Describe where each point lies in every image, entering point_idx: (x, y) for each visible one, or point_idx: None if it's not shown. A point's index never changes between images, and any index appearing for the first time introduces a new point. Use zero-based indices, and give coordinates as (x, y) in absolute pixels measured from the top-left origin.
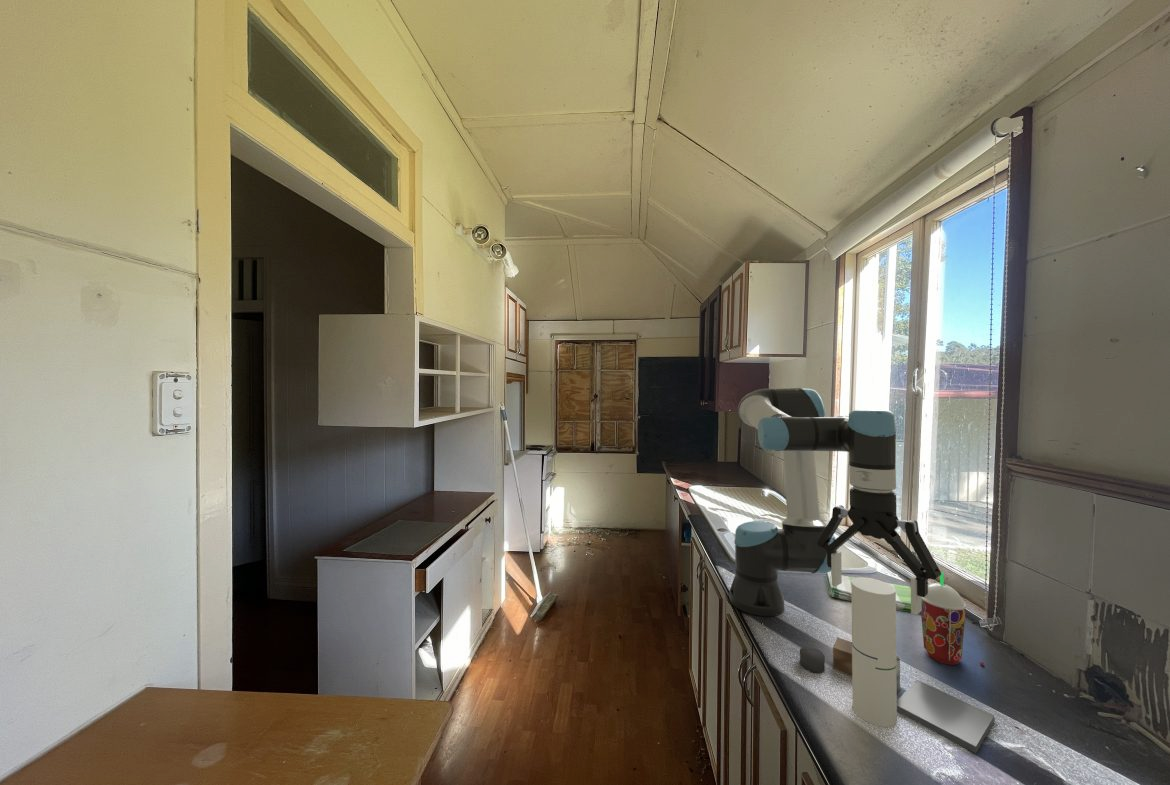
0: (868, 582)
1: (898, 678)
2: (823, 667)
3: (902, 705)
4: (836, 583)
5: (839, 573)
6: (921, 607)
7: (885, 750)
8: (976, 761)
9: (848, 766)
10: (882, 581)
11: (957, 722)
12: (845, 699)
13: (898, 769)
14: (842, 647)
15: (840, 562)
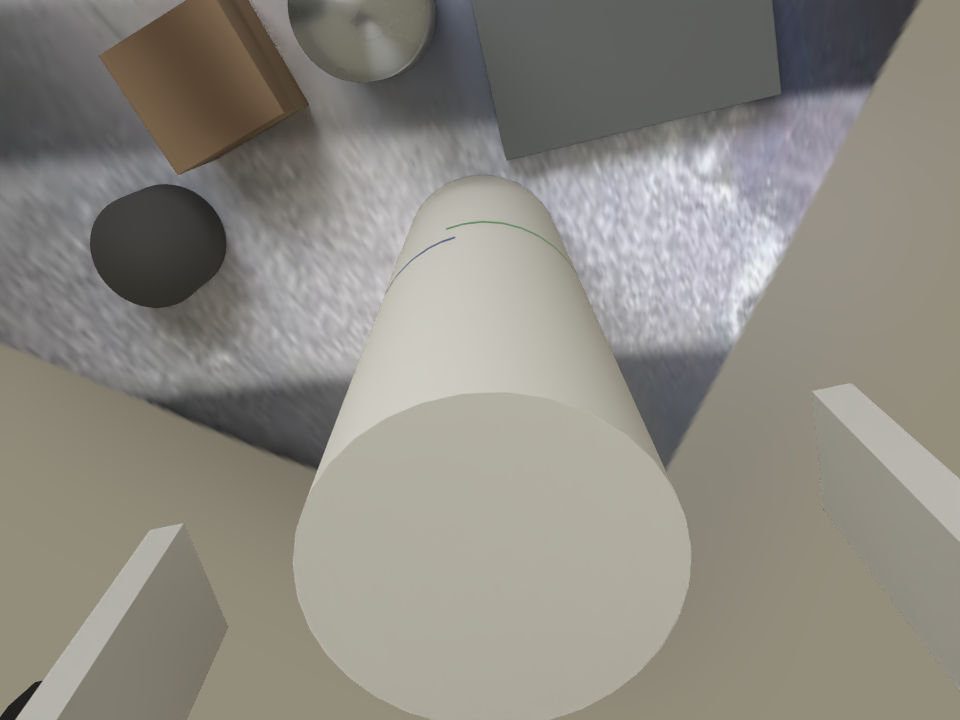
0: (424, 552)
1: (432, 6)
2: (215, 229)
3: (527, 137)
4: (212, 624)
5: (159, 632)
6: (866, 401)
7: None
8: (786, 133)
9: None
10: (468, 402)
11: (686, 9)
12: None
13: (673, 414)
14: (192, 124)
15: (94, 700)
